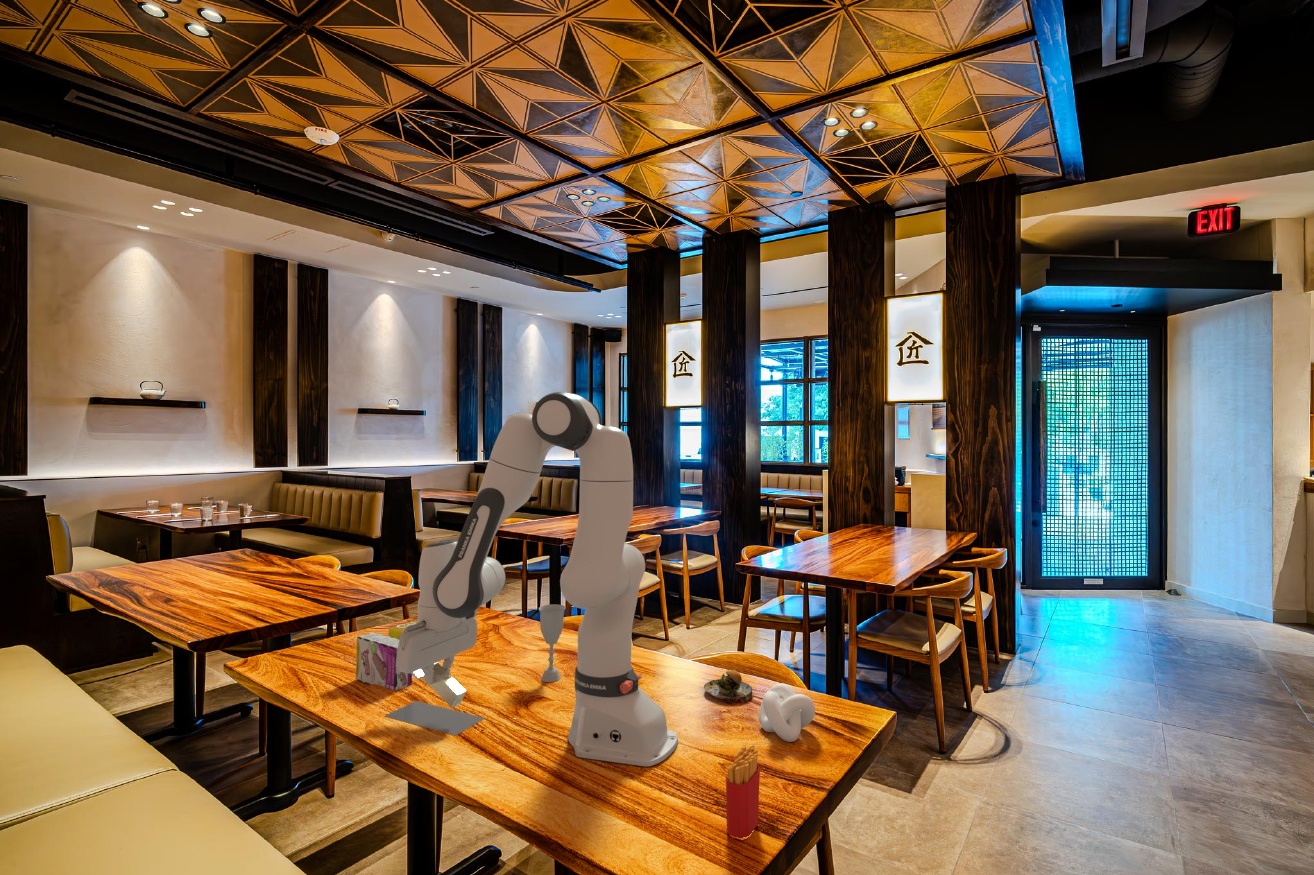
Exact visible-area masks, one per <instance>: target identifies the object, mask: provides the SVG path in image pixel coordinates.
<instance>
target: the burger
mask: <svg viewBox="0 0 1314 875" xmlns="http://www.w3.org/2000/svg"><path fill="white" fill-rule="evenodd" d="M739 666H740V665H738V667H737V668H739ZM725 673H726V675H725ZM725 673H722V675H721V677H720V678H718V679H713V680H710V681H708V682H705V684H704V686H703V688H704V690H705V692H707V693H709V695H711V696H713V697H714V698H717V699H721V700H725V701H726V703H727V704H728V705H729V704H730V705H733V704H737V701H738V700H739V701H741V703H744V702H745V703H746V702H749V699H751V698H753V696H752V695H753V687H752V686H751V685H750V684H749V683H747V682H744V681H743V678H742V675H741V673H739V671H738V670H736V669H735V670H734V669H728V670H726V671H725ZM727 704H726V705H727Z"/></svg>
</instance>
